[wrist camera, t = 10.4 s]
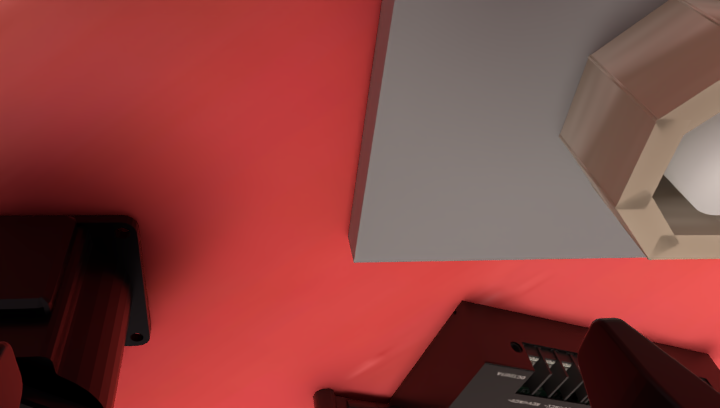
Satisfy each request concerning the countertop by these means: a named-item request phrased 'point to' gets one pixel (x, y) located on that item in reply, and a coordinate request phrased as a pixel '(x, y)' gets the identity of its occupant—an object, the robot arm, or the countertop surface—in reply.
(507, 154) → the post board
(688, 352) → the wireless controller
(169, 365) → the countertop surface
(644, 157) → the ring
